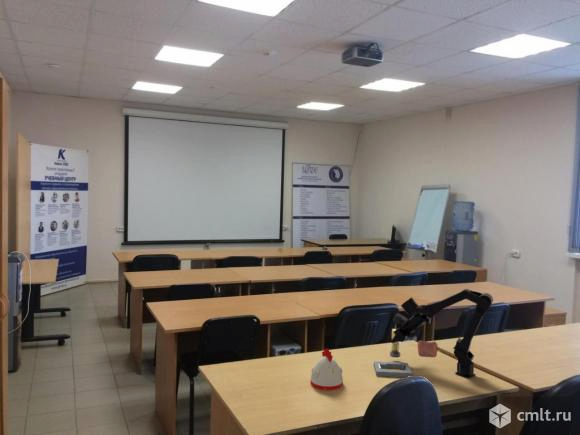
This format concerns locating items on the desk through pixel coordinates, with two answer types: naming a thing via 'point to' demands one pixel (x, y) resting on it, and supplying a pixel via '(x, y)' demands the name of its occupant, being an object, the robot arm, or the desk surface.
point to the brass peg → (395, 347)
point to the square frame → (392, 373)
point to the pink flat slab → (427, 349)
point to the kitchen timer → (326, 373)
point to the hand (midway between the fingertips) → (392, 341)
